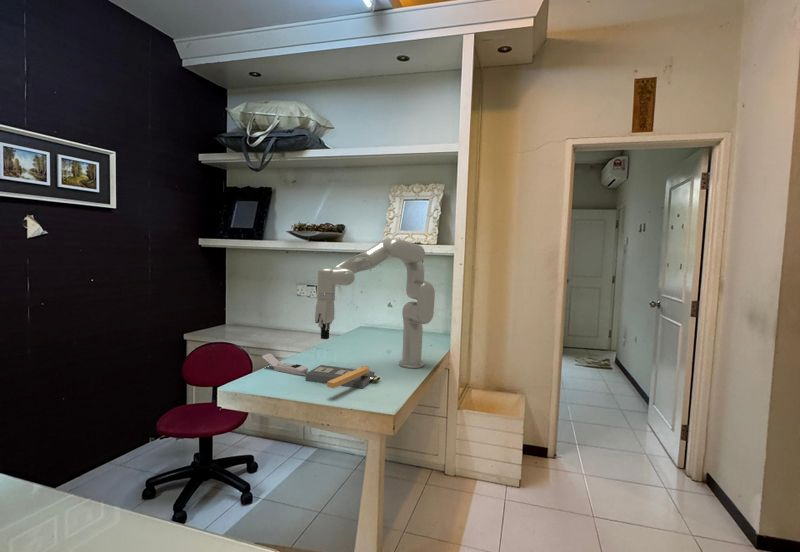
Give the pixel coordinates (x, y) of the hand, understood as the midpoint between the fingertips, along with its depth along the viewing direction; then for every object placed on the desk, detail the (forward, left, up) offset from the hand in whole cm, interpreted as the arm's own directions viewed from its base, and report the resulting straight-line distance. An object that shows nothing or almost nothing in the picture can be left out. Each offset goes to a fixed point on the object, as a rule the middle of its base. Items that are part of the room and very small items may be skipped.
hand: (324, 338), depth 175 cm
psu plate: (0, +8, -17) cm, 19 cm away
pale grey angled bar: (-2, -20, -18) cm, 27 cm away
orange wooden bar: (+10, +17, -13) cm, 23 cm away
